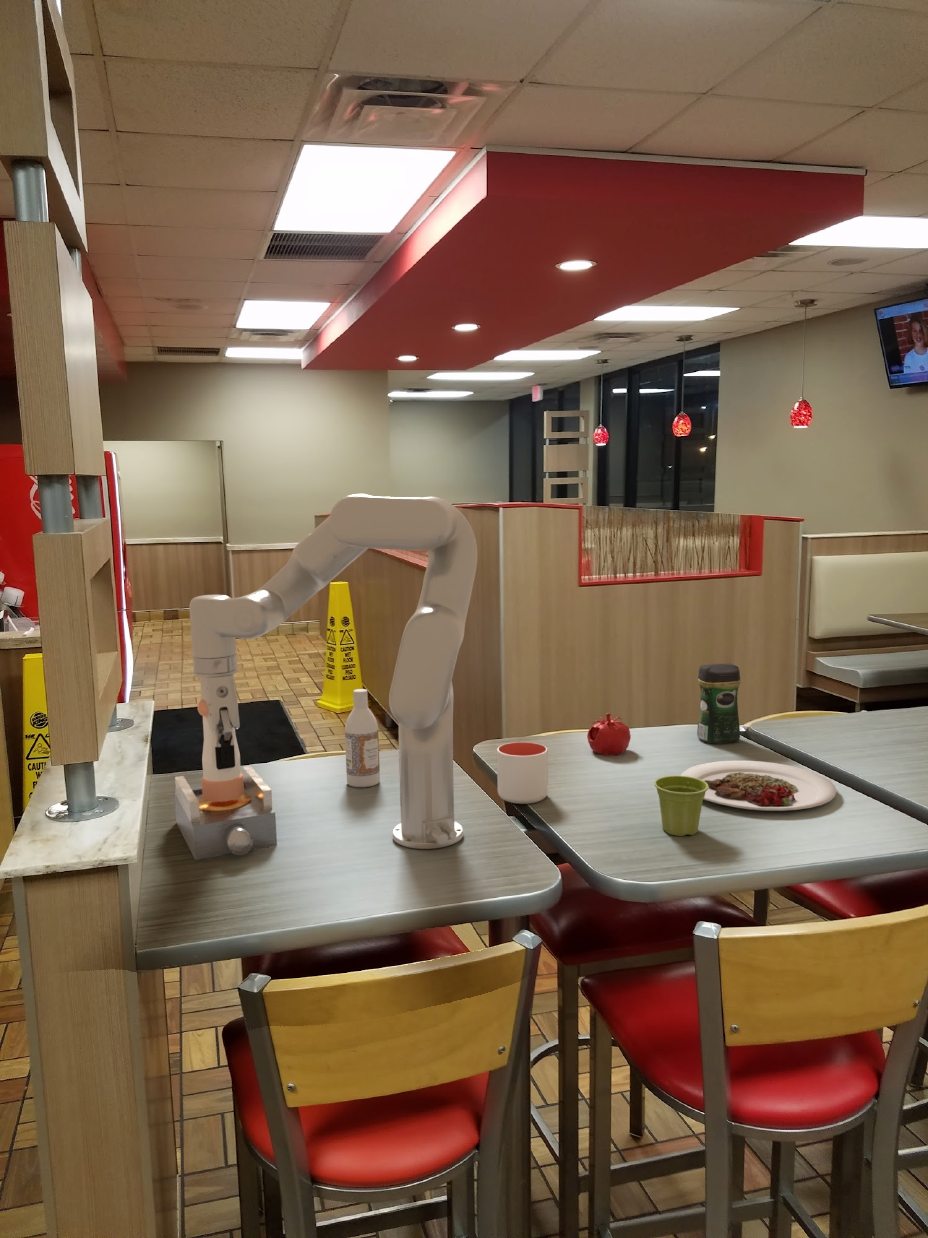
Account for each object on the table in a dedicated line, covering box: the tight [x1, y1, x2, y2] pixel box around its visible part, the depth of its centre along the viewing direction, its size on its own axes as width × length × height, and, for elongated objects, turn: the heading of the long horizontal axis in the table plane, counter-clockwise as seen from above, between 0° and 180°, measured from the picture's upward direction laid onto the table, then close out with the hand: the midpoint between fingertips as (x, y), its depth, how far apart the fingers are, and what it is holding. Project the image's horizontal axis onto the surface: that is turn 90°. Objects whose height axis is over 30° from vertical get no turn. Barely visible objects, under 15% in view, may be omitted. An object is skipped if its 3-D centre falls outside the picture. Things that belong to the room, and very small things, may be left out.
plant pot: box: [653, 775, 708, 837], centre depth 165 cm, size 9×9×9 cm
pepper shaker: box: [196, 698, 244, 802], centre depth 166 cm, size 7×7×19 cm
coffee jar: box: [696, 662, 741, 744], centre depth 221 cm, size 10×8×19 cm
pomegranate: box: [586, 712, 632, 756], centre depth 215 cm, size 10×10×9 cm
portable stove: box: [174, 765, 278, 861], centre depth 166 cm, size 24×14×10 cm, turn 26°
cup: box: [496, 741, 549, 805], centre depth 184 cm, size 10×10×10 cm
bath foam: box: [344, 688, 381, 788], centre depth 194 cm, size 7×7×20 cm
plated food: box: [679, 760, 837, 812], centre depth 186 cm, size 30×30×3 cm
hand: (221, 761), depth 167 cm, fingers closed on pepper shaker, 6 cm apart
